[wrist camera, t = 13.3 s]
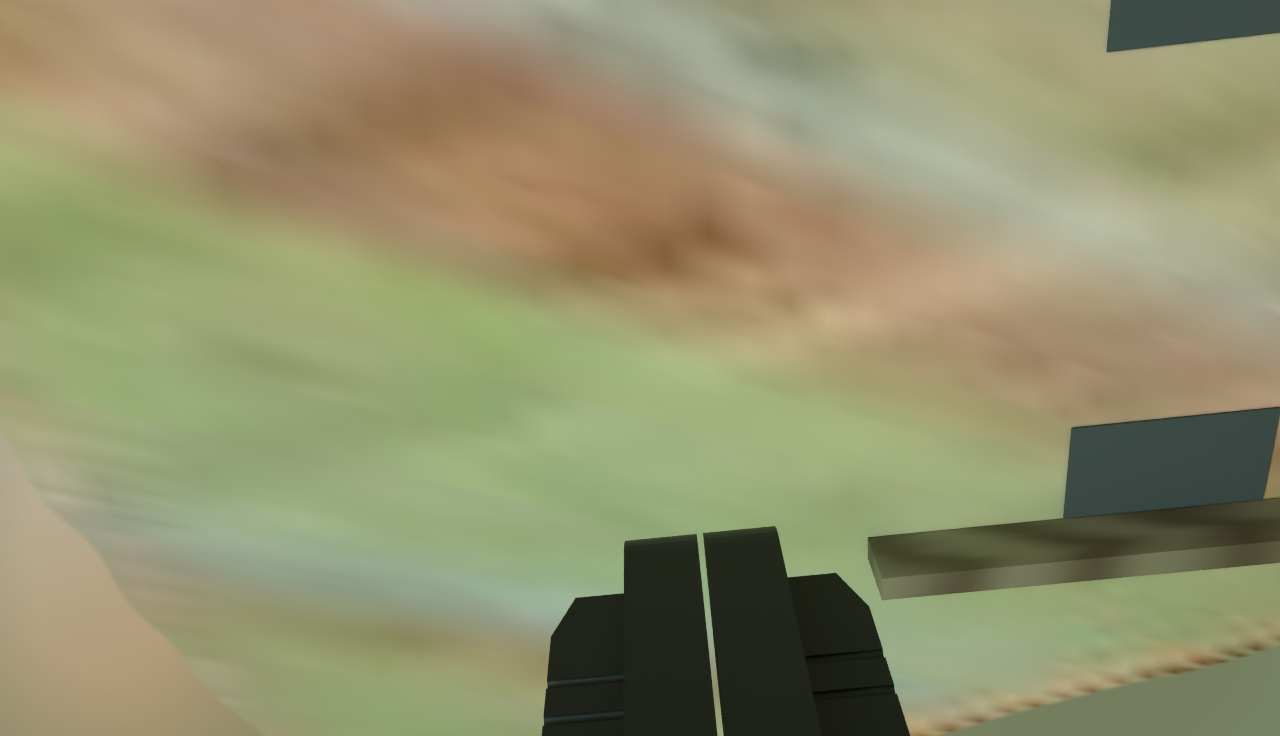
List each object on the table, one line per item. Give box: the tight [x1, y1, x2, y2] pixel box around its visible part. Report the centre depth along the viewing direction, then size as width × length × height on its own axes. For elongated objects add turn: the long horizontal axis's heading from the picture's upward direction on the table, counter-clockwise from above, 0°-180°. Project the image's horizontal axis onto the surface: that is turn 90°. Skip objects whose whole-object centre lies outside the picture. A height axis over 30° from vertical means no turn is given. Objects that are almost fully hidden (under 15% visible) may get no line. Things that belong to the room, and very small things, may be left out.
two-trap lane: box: [868, 0, 1280, 600], centre depth 40 cm, size 31×28×3 cm
